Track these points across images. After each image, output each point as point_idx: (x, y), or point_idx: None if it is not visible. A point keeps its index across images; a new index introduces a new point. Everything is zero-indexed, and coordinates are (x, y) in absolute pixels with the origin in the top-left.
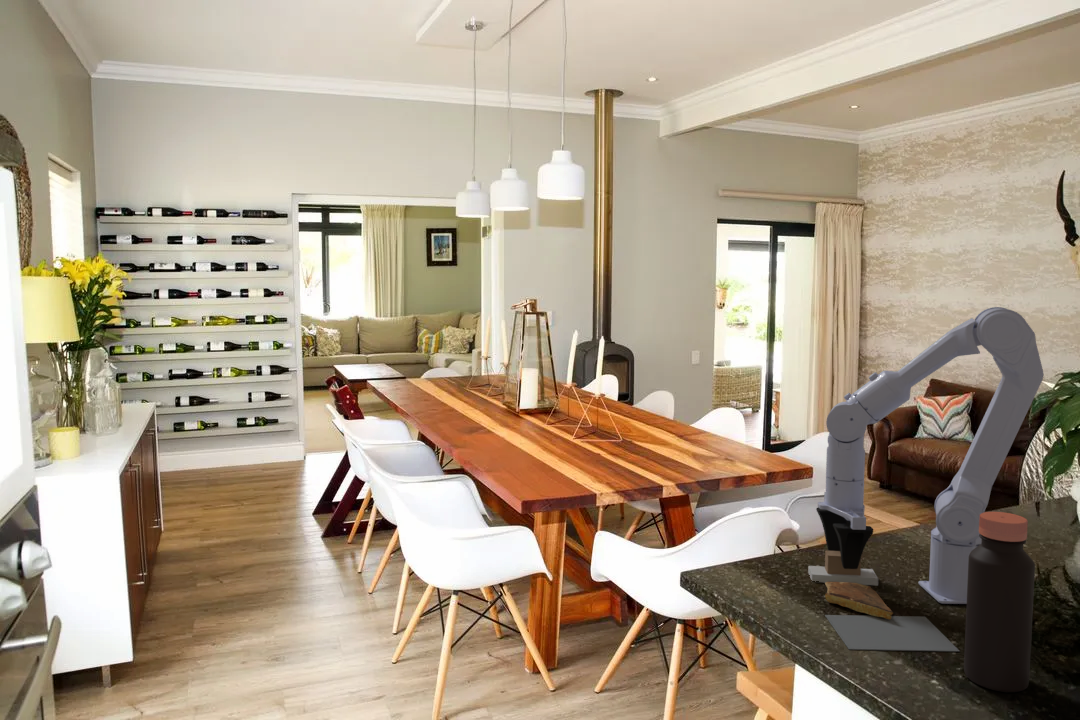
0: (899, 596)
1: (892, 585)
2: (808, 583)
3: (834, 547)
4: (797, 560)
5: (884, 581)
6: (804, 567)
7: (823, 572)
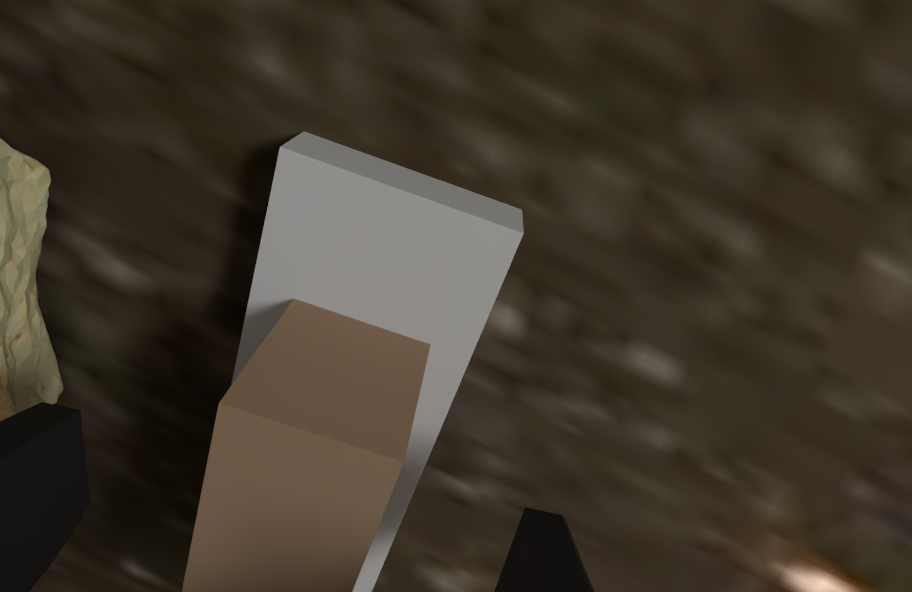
0: None
1: None
2: (260, 75)
3: (509, 584)
4: (840, 267)
5: None
6: (651, 241)
7: (327, 280)
